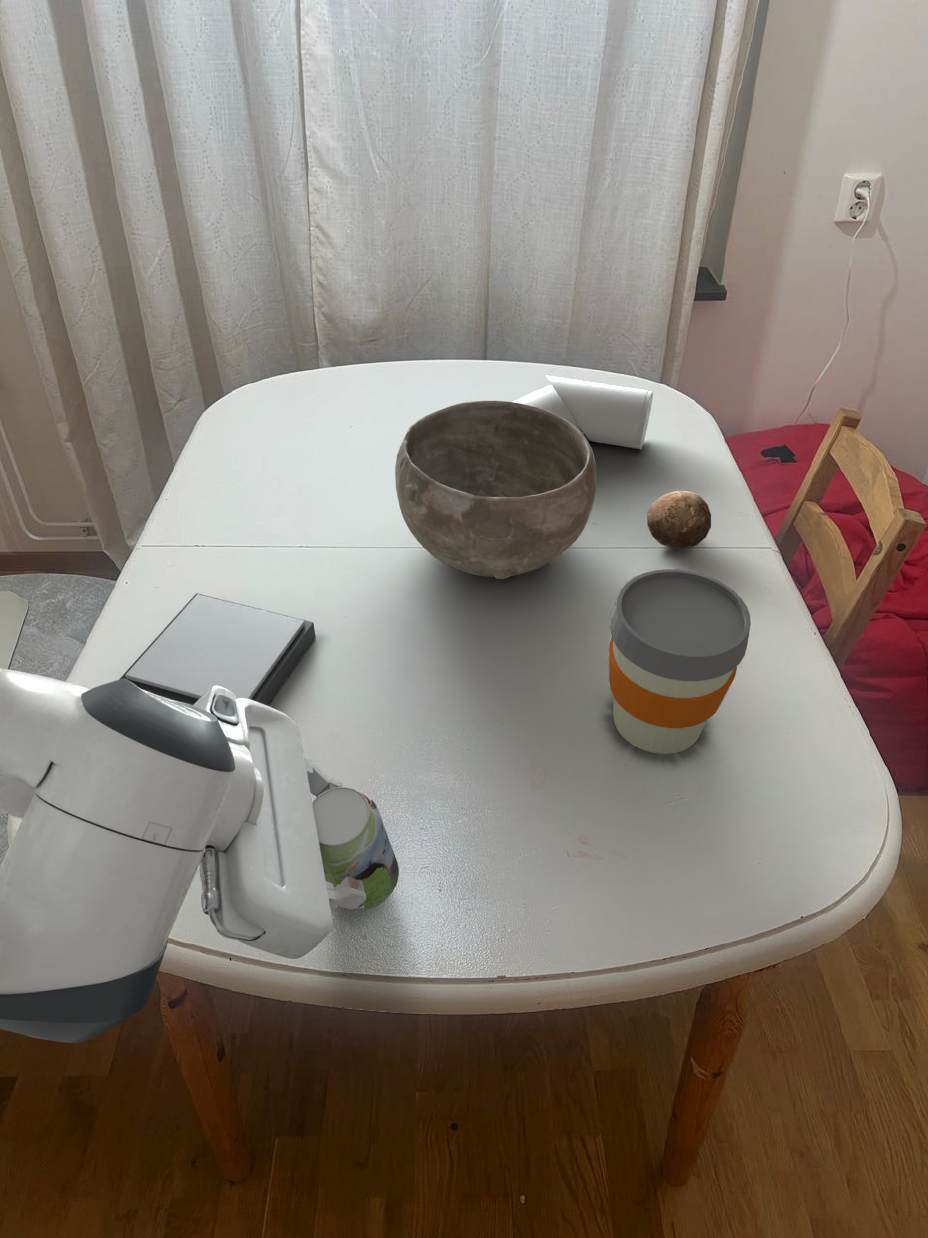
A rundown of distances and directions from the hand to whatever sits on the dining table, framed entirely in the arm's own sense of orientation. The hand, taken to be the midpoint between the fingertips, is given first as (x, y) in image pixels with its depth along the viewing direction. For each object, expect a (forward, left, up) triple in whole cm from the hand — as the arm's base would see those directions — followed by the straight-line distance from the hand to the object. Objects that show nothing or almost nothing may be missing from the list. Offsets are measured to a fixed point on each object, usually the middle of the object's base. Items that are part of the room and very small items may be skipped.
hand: (349, 844), depth 68 cm
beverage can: (0, +1, -8) cm, 8 cm away
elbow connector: (+1, +79, -8) cm, 79 cm away
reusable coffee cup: (+21, +28, -8) cm, 36 cm away
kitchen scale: (-25, +20, -7) cm, 33 cm away
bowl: (-4, +50, -8) cm, 51 cm away
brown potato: (+18, +60, -8) cm, 63 cm away
